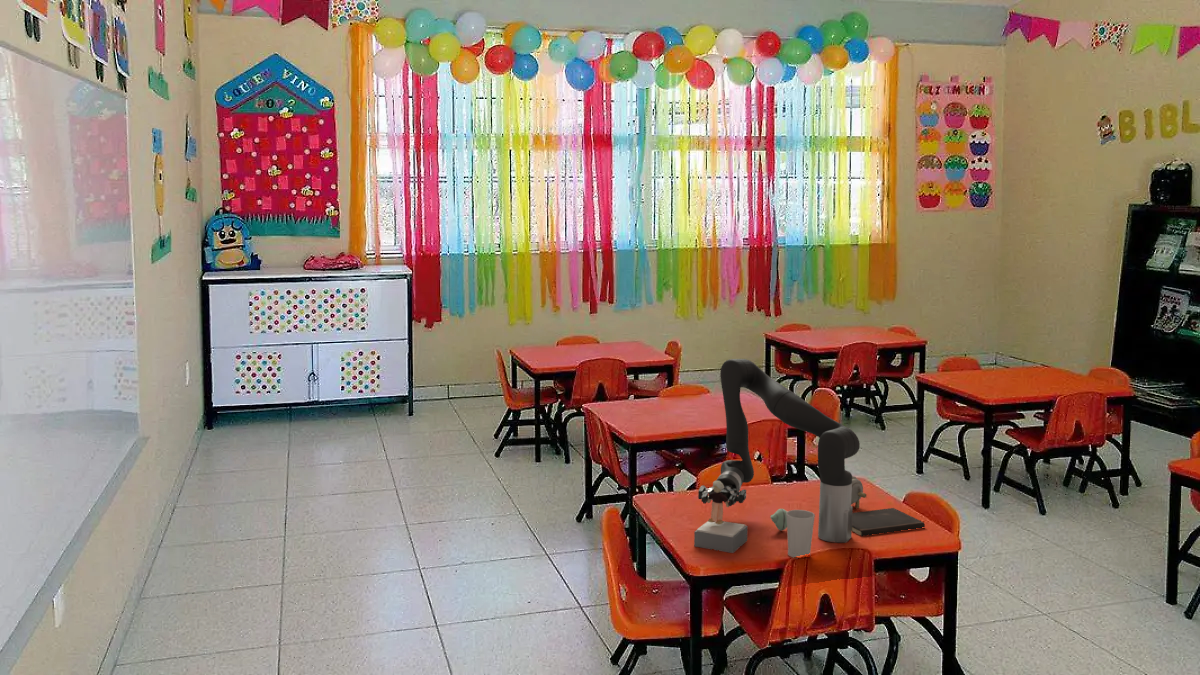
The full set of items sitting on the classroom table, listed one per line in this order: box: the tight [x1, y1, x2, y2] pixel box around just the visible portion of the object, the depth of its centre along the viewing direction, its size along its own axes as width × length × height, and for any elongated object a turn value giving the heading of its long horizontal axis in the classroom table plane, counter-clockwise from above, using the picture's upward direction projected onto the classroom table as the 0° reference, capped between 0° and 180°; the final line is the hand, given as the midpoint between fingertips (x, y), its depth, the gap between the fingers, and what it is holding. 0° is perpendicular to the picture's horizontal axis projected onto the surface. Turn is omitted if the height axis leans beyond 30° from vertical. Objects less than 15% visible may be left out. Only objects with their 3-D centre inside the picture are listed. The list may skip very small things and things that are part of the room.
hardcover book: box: [852, 507, 926, 537], centre depth 326 cm, size 16×23×2 cm
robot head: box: [770, 508, 788, 531], centre depth 319 cm, size 8×4×7 cm, turn 104°
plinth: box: [693, 520, 748, 554], centre depth 307 cm, size 12×12×5 cm
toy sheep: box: [851, 475, 867, 509], centre depth 343 cm, size 11×17×11 cm, turn 39°
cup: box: [786, 509, 816, 558], centre depth 298 cm, size 8×8×12 cm
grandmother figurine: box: [706, 480, 730, 524], centre depth 307 cm, size 8×4×13 cm, turn 61°
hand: (717, 501), depth 304 cm, fingers closed on grandmother figurine, 7 cm apart
